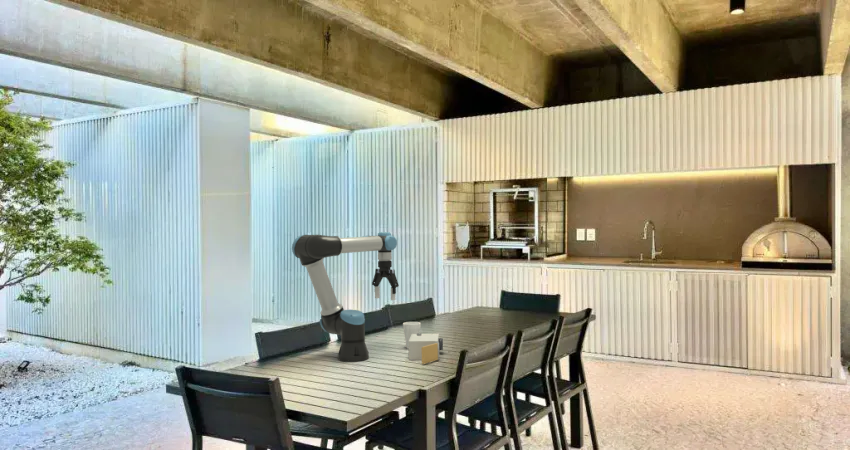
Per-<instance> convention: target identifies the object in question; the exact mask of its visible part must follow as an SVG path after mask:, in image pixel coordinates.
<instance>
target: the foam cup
mask: <svg viewBox="0 0 850 450" xmlns="http://www.w3.org/2000/svg"><path fill="white" fill-rule="evenodd" d="M421 325H422V323H421V322H418V321H406V322H403V323H402V328H403V334H404V340H405V346H406V349H408V350H409V340H410V337H411V335H412V334H417V333H421V328H422V326H421Z"/></svg>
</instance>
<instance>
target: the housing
mask: <svg viewBox="0 0 850 450" xmlns="http://www.w3.org/2000/svg"><path fill="white" fill-rule="evenodd" d="M435 343H439V351H443V350H444V338H443V337H440V333H421V332H420V333H417V334H412V335H411V337H410V340H409V349H408V359H409V361H422V347H424V346H428V345H431V344H435Z"/></svg>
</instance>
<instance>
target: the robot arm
mask: <svg viewBox="0 0 850 450" xmlns="http://www.w3.org/2000/svg"><path fill="white" fill-rule="evenodd" d="M397 245H398V240H397V238H396V237H395V236H394V235H392V233H391V232H389V231H387V232H386V231H384V232H383V231H379V232H378V233H377V235H363V236H356V237H354V236H352V237H350V236H349V237H339V236H338V235H335V236H334V235H323V234H301V235H299V236H297V237H295V238H294V240H293V242H292V246H291V252H292V254H293V256H294V257H296V258H297V259H299V262H300V263H301V266H302V267H305V268H306V271H307V274H308V276H309V279H310V281H311V284H312V287H313V289H314V292H315V294H316V297H317V300H318V302H319V304H320V307H321V311H320V319H319V324H320V327H321V329H322V330H323V331H324V332H326V333H328V334H331V335H338V336H340V337H341V339H340V342H341V343H340V347H339V350H338V354H337V359H338V361H340V362H350V363H352V362H362V361H365V360H368V359H369V358H370V356H369V355H370V353H369V349H368V348H367V345H366V338H365V337H366V330H365V328H366V327H365V326H366V323H365V322H366V319H365V314H364V312H363V311H360V310H357V309H344V306H343V305H342V303H340V302H338V299H337V297H336V293H335V290H334V289H333V286H332V283H331V279H330V277H329V275H328V272H327V269H326V267H325V264H324V262H323V261H324V259H325V258H330V257H338V256H340V255H341V254H349V253H352V254H353V253H361V252H362V253H363V252H365V253H366V252H375V251H376V252H377V260H378V261H377V267H378V268H375V273H374V275H373V279H372V282H371V286H373V287H374V299H380V297H381V296H380V294H381V292H380V291H381V290H380V287H381V286H380V284H381V282H382V280H383V279H384V278H386V279H387V281H388V283H389V285H390V286H391V287H390V301H396V294H397V288H399V282H398V279H397V276H396V270H395V269H391V268H392V267H393V266H392V265H393V261H392V255H393V254H392V252H393V250H395V249H396V247H397Z"/></svg>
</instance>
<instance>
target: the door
mask: <svg viewBox="0 0 850 450" xmlns="http://www.w3.org/2000/svg"><path fill="white" fill-rule="evenodd" d="M439 360H440V350H439V343H435V344H431V345H428V346H424V347H422V360H421V364H422V365H426V364H428V363H432V362H435V361H439Z"/></svg>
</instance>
